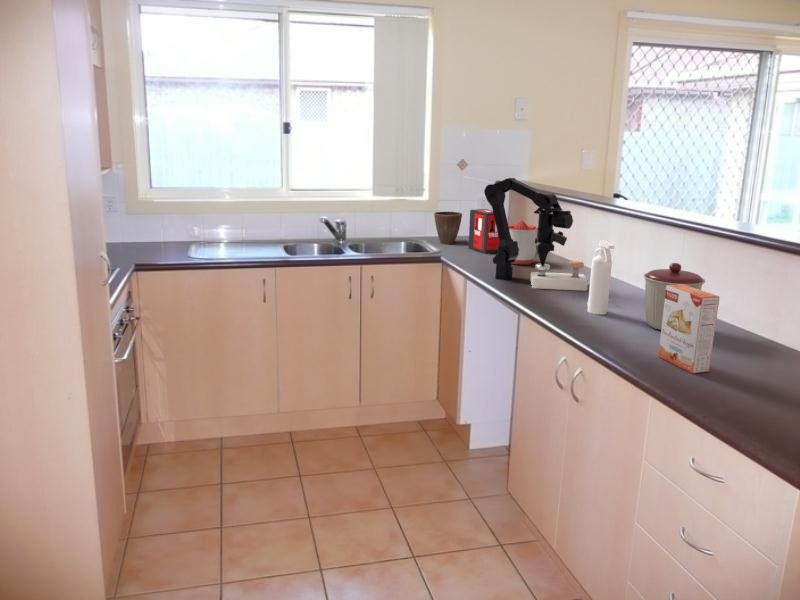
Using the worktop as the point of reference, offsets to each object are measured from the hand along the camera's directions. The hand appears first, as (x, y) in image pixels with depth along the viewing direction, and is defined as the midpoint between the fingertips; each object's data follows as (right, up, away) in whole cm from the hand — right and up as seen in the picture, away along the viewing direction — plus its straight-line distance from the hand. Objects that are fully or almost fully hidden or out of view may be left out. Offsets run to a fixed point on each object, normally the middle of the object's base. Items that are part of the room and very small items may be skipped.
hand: (542, 264), depth 272 cm
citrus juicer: (-1, +3, +46) cm, 46 cm away
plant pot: (-31, +16, +95) cm, 102 cm away
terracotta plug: (+13, -4, -1) cm, 14 cm away
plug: (0, -5, +1) cm, 5 cm away
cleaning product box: (-14, +11, +75) cm, 77 cm away
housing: (+6, -8, +1) cm, 11 cm away
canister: (+29, -23, -53) cm, 65 cm away
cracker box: (+20, -32, -87) cm, 95 cm away
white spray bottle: (+11, -18, -35) cm, 41 cm away
